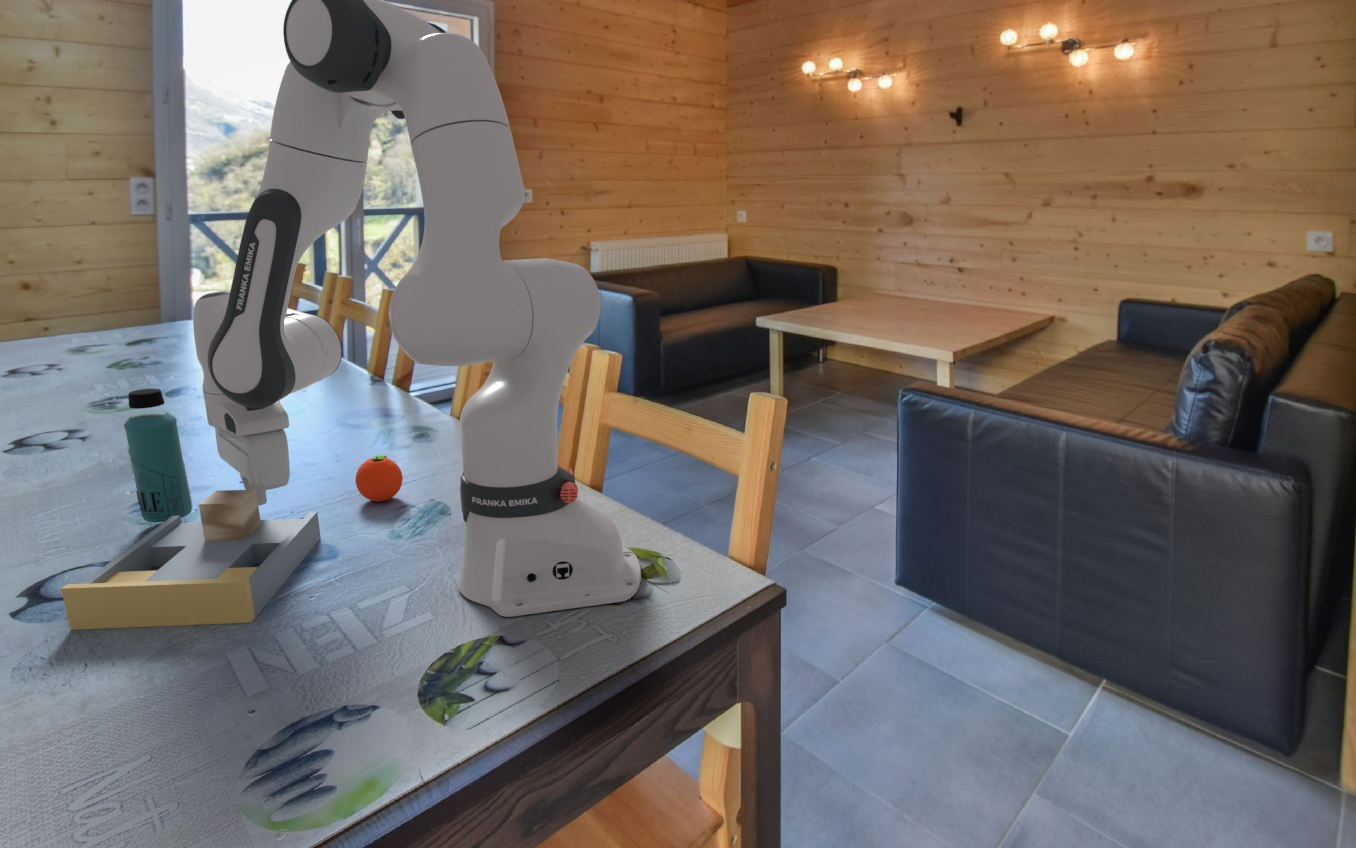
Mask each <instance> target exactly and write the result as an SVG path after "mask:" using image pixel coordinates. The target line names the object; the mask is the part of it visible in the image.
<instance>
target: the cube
mask: <svg viewBox="0 0 1356 848" xmlns="http://www.w3.org/2000/svg"><path fill="white" fill-rule="evenodd" d="M198 508H199V514H200V520H201V521H200V522H202V527H203V533H204V539H205V541H209V540H240V539H246V538H247V537H248V536H249V535H250V534H251V533H252V532H253V531H254V530H256V529H257V528H258V527H259V526H260V525H261V521H260V520H261V515H260V508H259V506H258V501H257V494H256V490H245V489H228V490H225V489H224V490H216V491H214V492H213V493H212V494H210V495H209V496H208V497H206V498H205V499H204V500H202V501H201V502H200V503H199V504H198Z"/></svg>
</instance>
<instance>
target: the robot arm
mask: <svg viewBox="0 0 1356 848" xmlns="http://www.w3.org/2000/svg"><path fill="white" fill-rule="evenodd" d="M282 27H283V31H282V32H283V33H282V34H283V42H284V43H283V44H284V47H285V52H286V55H287V57H288V60H289V62H288V64H287V65H286V67H285V70H284V73H283V75H282V78H281V82H280V84H279V88H278V93H277V95H276V99H275V104H274V108H273V115H272V120H271V126H270V127H271V128H270V135H269V144H268V151H267V158H266V163H265V168H264V171H263V177H262V179H261V182H260V187H259V189H258V192H257V194H256V197H255V198H254V200H253V202H252V203H251V207H250V209H249V211H248V214H247V217H246V220H245V223H244V228H243V231H242V235H241V238H240V239H241V240H240V244H239V248H238V254H237V258H236V263H235V268H234V270H233V271H234V272H233V276H232V281H231V286H230V287H231V288H230V289H227V290H220V291H214V292H209V293H206V294H203V295H201V296H200V297H199V298H198V299H196V302H195V303H194V308H193V315H192V317H193V318H192V319H193V320H192V321H193V322H192V324H193V327H192V328H193V337H194V345H195V352H196V357H197V360H198V362H199V364H200V366H201V368H202V373H203V381H202V394H203V399H204V406H205V412H206V419H207V424H208V425H209V426H211V427H214V431H215V441H216V447H217V452H218V455H219V458H220V459H222V461H224V462H225V463H226V464H228V465H229V466H230V467H232V468H233V469H234V470H235V471H236V472H238V474H239V478H240V479H241V482H242V485H243V487H244V490H256V494H257V501H258V507H259V506H263V505H265V504H266V503H267V502H268V498H267V492H266V491H269V490H272V489H273V490H274V489H278V488H282V487H285V486H287V485H288V483H289V481H290V476H291V474H290V473H291V472H290V470H291V469H290V455H289V442H288V436H287V433H286V431H285V429H288V428H289V427H290V419H289V415H288V413H287V411H286V410H285V409H284V407H283V405H282V404H281V401H280V400H283V399H284V398H286V397H288V396H289V395H291V394H294V393H297V392H298V391H301V390H303V389H305V388H307V387H310V386H312V385H314V384H316V383H318V382H321V381H323V380H325V379H327V378H328V377H330V376H331V375H332V374H334V373H335V372H336V370H338V368H339V366H340V364H341V361H342V356H343V348H342V343H341V339H340V336H339V334H338V333H337V331H336V329H335V327H334V326H333V325H332V324H331V323H330V322H329V321H327V319H325V318H323V317H322V316H320V315H318V314H314V313H306V312H303V311H300V310H296V309H293V308H289V302H290V298H291V295H292V294H291V292H292V289H293V284H294V279H295V275H296V272H297V268H298V265H299V262H300V260H301V259H302V257H303V255H304V254H305V253H306V251H307V250H308V249H309V247H310V246H312V245H313V243H315V241H317V240H318V239H320V237H322V236H323V235H324V234H325V233H327V232H329V231H330V230H332V229H333V228H335V227H337V226H338V225H340V224H341V223H343V222H344V221H346V220H347V219H348V218H349V217H350V216H351V215H352V214H353V213H354V212H355V210H356V209H357V206H358V204H359V202H360V201H359V200H360V198H361V195H362V192H363V189H364V184H365V180H366V173H367V166H368V158H369V148H370V147H369V146H370V138H371V131H372V128H373V126H374V124H375V121H376V120H377V119H378V118H380V116H382V115H383V114H385V113H388V112H391V113H392V115H393V116H394V117H395V118H396V119H398V120H403V119H404V120H405V123H406V127H407V128H406V129H407V133H408V136H409V142H410V145H411V150H412V155H413V159H414V160H413V161H414V164H415V169H416V173H417V177H418V182H419V187H420V193H421V199H422V204H423V213H424V215H423V217H424V225H423V226H424V230H423V237H422V242H421V246H420V249H419V251H418V255H416V256H417V257H416V258H415V261H414V263H413V264H412V266H411V267H410V269H409V270H408V272H407V273H405V275H403V276H402V278H401V279H400V280H399V281H398V283H397V284H396V286H395V288H394V290H393V292H392V294H391V298H390V302H389V307H388V320H389V326H390V329H391V332H392V336H393V337H394V340H395V341H396V343H397V344H398V346H399V347H400V349H401V350H402V351H403V353H404V354H405V355H406V356H407V357H409V359H411V360H412V361H413V362H415V363H417V364H420V365H427V366H439V367H466V366H467V367H468V366H472V365H478V364H483V363H484V364H485V363H490V362H493V363H492V366H491V369H490V372H489V374H488V376H487V378H486V380H485V382H484V383H483V384H482V386H481V387H480V388H479V389H478V390H477V391H476V392H475V393H474V394H473V395H472V396H470V398H469V399H467V401H466V402H465V404H464V405H463V407H462V409H461V413H460V417H459V424H460V425H459V426H460V428H459V429H460V440H461V441H460V442H461V455H462V470H463V472H462V475H461V476H460V477H459V478H460V483H459V496H460V497H459V498H460V507H461V513H462V518H463V522H464V523H465V525H464V527H465V529H464V544H463V545H464V546H463V554H462V561H461V568H460V572H459V576H458V580H457V589H458V590H459V592H460V594H461V595H462V596H464V597H465V598H466V599H468V600H470V601H472V602H475V603H477V604H480V605H484V606H486V607H489V608H490V609H492V611H494V612H495V613H497V615H499V616H502V617H504V618H505V617H506V618H511V617H518V616H525V615H533V614H541V613H548V612H554V611H562V610H570V609H577V608H585V607H592V606H601V605H606V604H613V603H615V604H616V603H621V602H626V600H627V601H629V600H630V599H631V597H632V596H633V595H634V594H635V593H638V591H639V589H640V587H639V585H640V586H641V584H640V582H641V583H642V572H641V571H642V570H641V569H642V568H641V564H640V560H639V558H638V557H637V555H636V554H635V553H634V552H633V551H632V550H631V549H630V548H628V547H625V546H623V544H622V539H621V536H620V533H619V531H618V529H617V526H616V524H615V523H614V521H613V520H612V518H610V517H609V516H608V515H606V514H604V513H602V512H601V511H600V510H597V509H596V508H595V507H593V506H591V505H590V504H589V503H586V501H583V500H582V499H581V498H578V495H579V493H578V492H579V488H578V485H577V484H576V477H575V475H574V472H573V469H572V468H571V467H569V469H568V471H567V469H566V470H565V469H564V468H562V467H560V466H559V464H558V410H559V402H560V398H561V394H562V390H563V386H564V383H565V380H566V376H567V374H568V371H569V368H570V367H571V364H572V362H573V360H574V358H575V355H576V354H577V353H578V350H580V348H581V346H582V345H583V344H584V343H585V341H586V340H587V339H588V338H589V337H590V336H591V334H593V332H594V331H595V329H596V328H597V327H598V326H597V325H598V323H599V321H600V316H601V308H602V307H601V306H602V305H601V296H600V295H601V294H600V290H599V288H598V285H597V282H596V281H595V279H594V278H593V276H592V275H591V274H590V272H589V271H588V270H587V269H586V268H585V267H583V266H581V265H579V264H577V263H574V262H569V261H563V260H559V259H552V258H546V257H542V258H525V259H509V260H505V259H504V260H503V259H502V256H501V252H500V235H501V230H502V228H503V227H505V226H506V225H507V224H508V223H510V222H511V221H512V220H513V219H515V217H516V216H517V215H518V214H519V212H520V210H521V208H522V207H523V205H524V202H525V197H526V196H525V195H526V190H525V186H524V181H523V177H522V173H521V169H520V165H519V160H518V154H517V151H516V146H515V144H514V143H515V142H514V137H513V134H512V129H511V126H510V121H509V118H508V114H507V110H506V107H505V104H504V101H503V97H502V95H501V92H500V89H499V86H498V83H497V81H496V78H495V75H494V73H493V70H492V68H491V66H490V64H489V62H488V60H487V58H486V55H485V53H484V52H483V50H482V49H481V48H480V46H479V45H477V43H476V42H474V41H473V40H471V39H470V38H468V37H466V36H464V35H460V34H457V33H451V32H447V31H446V30H445V29H443V28H442V27H440V26H439V25H437V24H434V23H431V22H427V21H425V20H423V19H422V18H420V17H418V16H416V15H414V14H412V13H410V12H408V11H406V10H403V9H402V8H401V7H399V6H398V5H395V4H393V3H391V2H388V1H384V0H291V1H290V3H289V4H288V7H287V9H286V12H285V14H284V19H283V26H282ZM638 588H639V589H638ZM637 590H638V591H637ZM635 595H636V594H635ZM635 595H634V596H635ZM634 596H633V597H634ZM633 597H632V598H633ZM628 599H629V600H628Z"/></svg>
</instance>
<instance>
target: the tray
mask: <svg viewBox="0 0 1356 848" xmlns="http://www.w3.org/2000/svg"><path fill="white" fill-rule="evenodd" d="M318 513H319V512H318V511H309V512H308V513H307V514H306V515H305V517H303V518H291V519H290V518H288V519H285V518H283V519H260V521H261V525H260V526H259V527H258V528H257V529H256V530H254V531H253V532H252V533H251V534H250V535H249V536H248V537H247V538H246V539H240V540H209V541H205V539H204V533H203V527H202V521H188V522H186V521H185V522H182V518H180V516H172V517H170V518H169V519H168V520H166V521H165V522H161V524H159V525H158V526H157V527H155V528H154V529H152V531H150V532H149V533H147V534H146V535H145V536H143V537H142V538H140V539H139V540H138V541H137V542H135V543H134V544H132V545H131V546H130V547H128V548H127V549H126V550H124V551H123V552H122V553H120V554H119V555H118V556H116V557H115V558H114V559H112V560H110V561H109V562H108V563H107V564H106V565H104V566H102V568H100V569H99V570H97V571H96V572H95V573H93V574H92V575H91V576H89V577H88V578H87V579H85V580H84V581H83V582H81V583H66V585H64V586H63V587H61V595H62V599H63V603H64V607H65V611H66V616H67V620H68V624H69V628H70V629H69V630H70V631H77V630H99V629H101V630H102V629H122V628H123V629H124V628H127V629H128V628H149V627H151V628H153V627H173V626H175V627H176V626H177V627H178V626H196V625H200V626H201V625H221V624H222V625H225V624H244V623H245V624H246V623H247V624H249V623H252V622H253V621H254V620H255V619H256V618H257V616H258V615H260V613H261V612H262V611H263V609H264V608H265V607H266V605H267V604H268V603H269V602H270V601H271V599H273V597H274V595H276V593H277V592H278V591H279V590H280V589H281V588H282V586H283V585H284V583H285V582H286V581H287V580H288V579H289V578H290V576H291V575H292V574H293V573H294V572H295V570H296V569H297V568H298V567H299V565H300V564H301V563H302V562H303V561H304V559H305V558H306V557H307V556H308V555H309V553H310V552H311V551H312V550H313V549H314V547H315V546H316V545H317V544H318V543H319V541H320V540H321V539H322V538H321V530H320V523H319V522H320V521H319V515H318Z"/></svg>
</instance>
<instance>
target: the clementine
mask: <svg viewBox="0 0 1356 848" xmlns="http://www.w3.org/2000/svg"><path fill="white" fill-rule="evenodd" d="M403 480H404V478H403V472H402V470H401V467H400V466H399V465H398V463H397V462H395V461H394V460H392V459H391V458H390V459H389V458H388V457H387V455H376V456H374V457H371V458H368V459H367V460H366V461H364V462H363V463H361V465H360V466H359V467H358V469H357V471H356V474H355V485H356V488H357V490H358V492H359V495H361V496H362V497H364V499H367V500H369V501H372V502H384V501H388V500H391V499H392V498H393V497H394V496H396V495H397V494H398V493H399V492H400V490H401V488H402V484H403Z"/></svg>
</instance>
